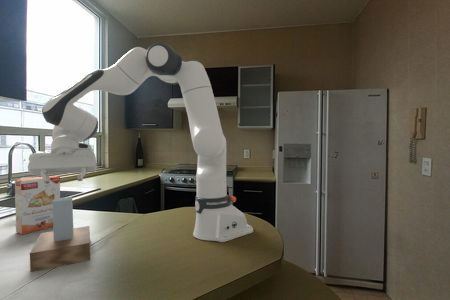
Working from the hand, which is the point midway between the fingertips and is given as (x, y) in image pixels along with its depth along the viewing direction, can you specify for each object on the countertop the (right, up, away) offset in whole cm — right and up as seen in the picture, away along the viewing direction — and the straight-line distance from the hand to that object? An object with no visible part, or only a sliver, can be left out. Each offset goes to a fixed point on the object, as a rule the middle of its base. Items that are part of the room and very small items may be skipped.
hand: (63, 181), depth 85 cm
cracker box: (-22, -22, +19) cm, 36 cm away
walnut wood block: (+4, -22, -6) cm, 23 cm away
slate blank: (+4, -17, -6) cm, 18 cm away
